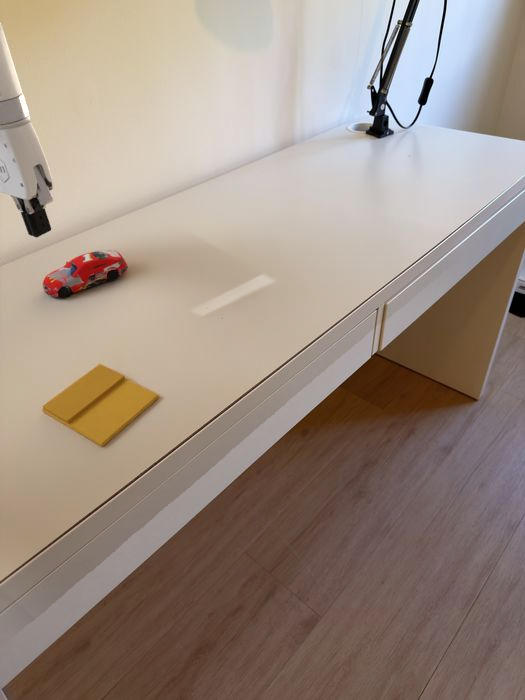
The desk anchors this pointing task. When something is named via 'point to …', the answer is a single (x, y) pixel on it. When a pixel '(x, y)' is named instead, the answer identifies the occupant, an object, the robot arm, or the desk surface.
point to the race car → (84, 272)
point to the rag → (100, 404)
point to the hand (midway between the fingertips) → (40, 232)
